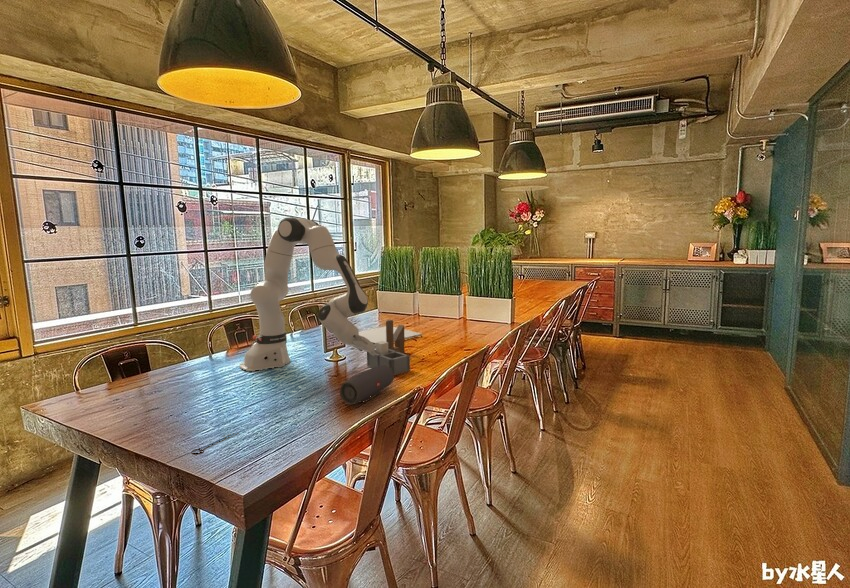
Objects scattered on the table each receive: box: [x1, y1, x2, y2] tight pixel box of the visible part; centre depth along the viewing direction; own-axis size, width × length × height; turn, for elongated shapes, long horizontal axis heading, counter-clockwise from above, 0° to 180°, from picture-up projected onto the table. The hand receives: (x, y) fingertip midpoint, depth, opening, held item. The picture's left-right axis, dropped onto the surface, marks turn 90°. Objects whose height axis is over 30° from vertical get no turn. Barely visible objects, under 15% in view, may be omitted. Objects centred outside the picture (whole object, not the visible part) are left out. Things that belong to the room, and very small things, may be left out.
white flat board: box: [359, 325, 423, 347], centre depth 261 cm, size 35×2×31 cm
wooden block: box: [385, 319, 406, 354], centre depth 224 cm, size 4×11×18 cm, turn 142°
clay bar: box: [375, 341, 388, 355], centre depth 205 cm, size 4×4×10 cm
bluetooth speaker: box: [339, 365, 395, 406], centre depth 168 cm, size 23×9×10 cm, turn 151°
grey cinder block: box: [366, 348, 411, 376], centre depth 202 cm, size 10×18×7 cm, turn 41°
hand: (368, 351), depth 200 cm, fingers open, 8 cm apart
